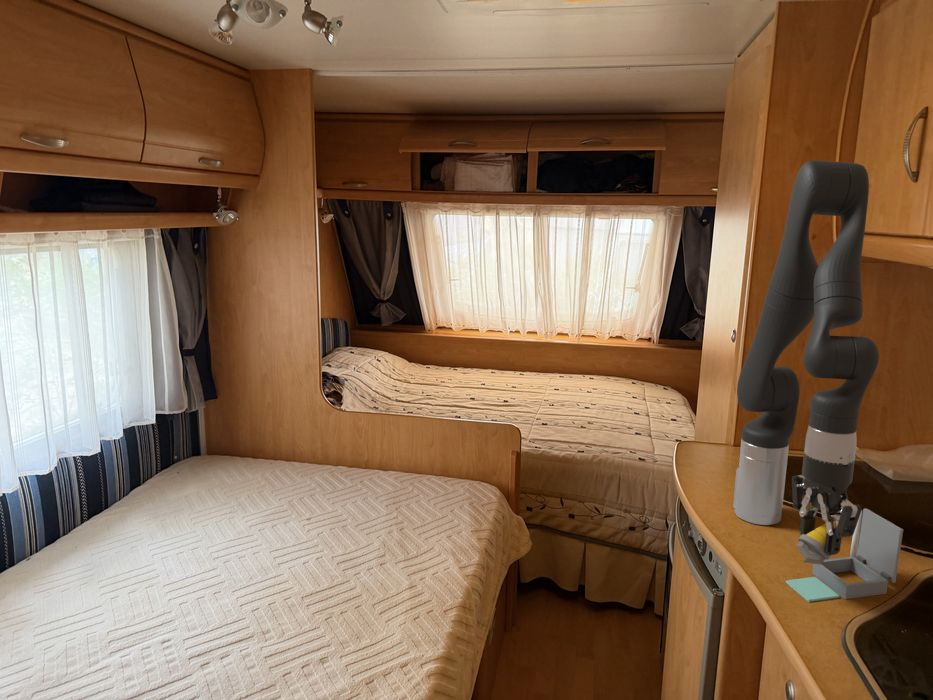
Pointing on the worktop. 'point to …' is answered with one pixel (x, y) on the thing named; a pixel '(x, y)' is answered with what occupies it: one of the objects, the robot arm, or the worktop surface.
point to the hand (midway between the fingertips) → (818, 544)
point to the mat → (812, 589)
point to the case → (866, 558)
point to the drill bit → (814, 545)
